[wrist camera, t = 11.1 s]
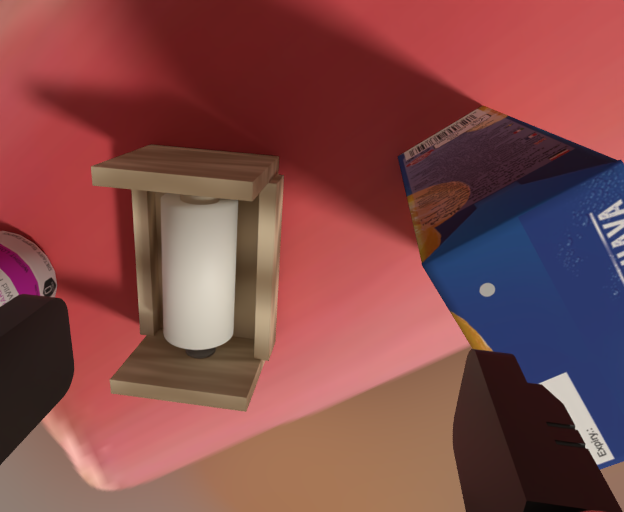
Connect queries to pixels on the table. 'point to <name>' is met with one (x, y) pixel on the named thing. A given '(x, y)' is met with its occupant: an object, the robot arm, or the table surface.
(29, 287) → the supplement can
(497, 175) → the beverage box
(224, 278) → the paper roll
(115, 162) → the roll holder
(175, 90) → the table surface
